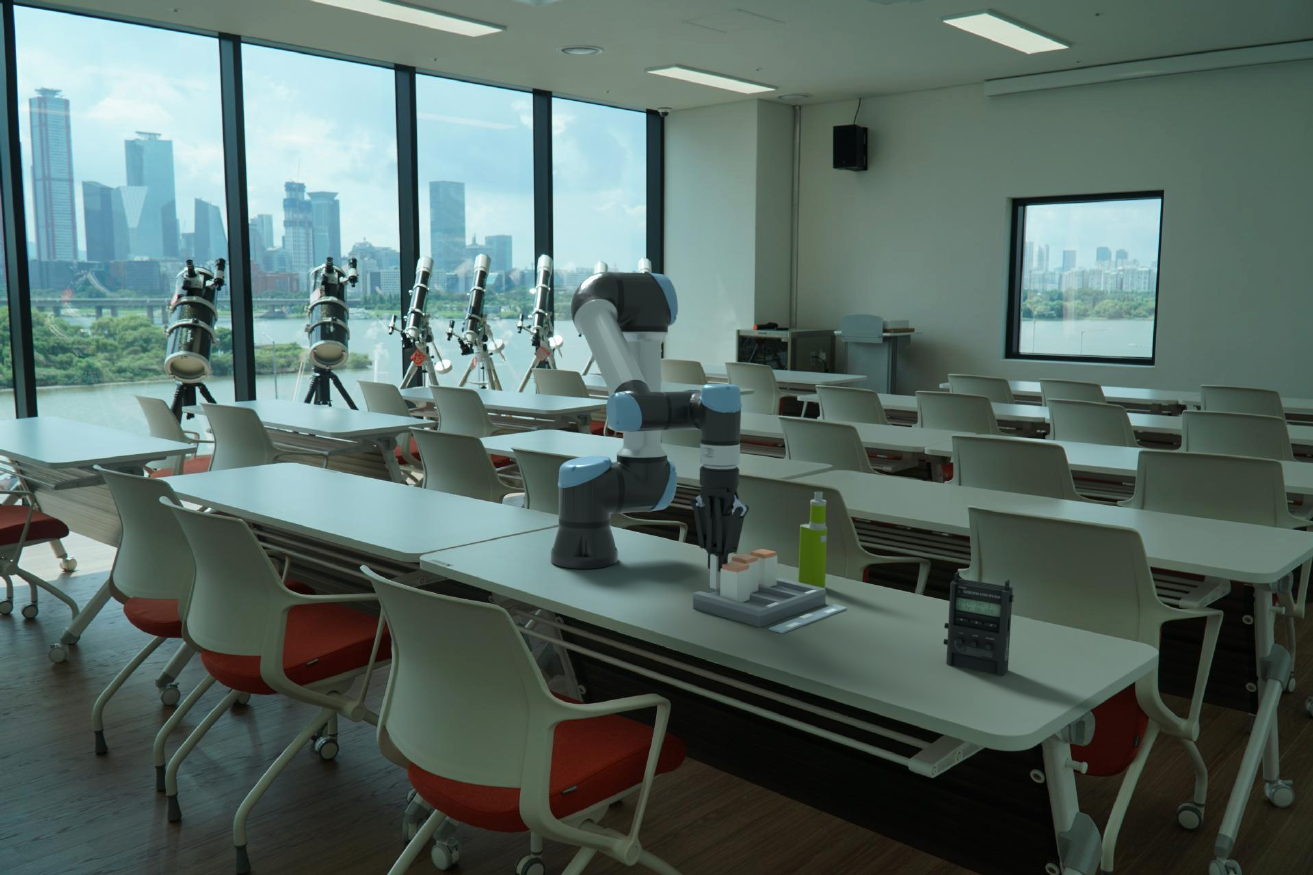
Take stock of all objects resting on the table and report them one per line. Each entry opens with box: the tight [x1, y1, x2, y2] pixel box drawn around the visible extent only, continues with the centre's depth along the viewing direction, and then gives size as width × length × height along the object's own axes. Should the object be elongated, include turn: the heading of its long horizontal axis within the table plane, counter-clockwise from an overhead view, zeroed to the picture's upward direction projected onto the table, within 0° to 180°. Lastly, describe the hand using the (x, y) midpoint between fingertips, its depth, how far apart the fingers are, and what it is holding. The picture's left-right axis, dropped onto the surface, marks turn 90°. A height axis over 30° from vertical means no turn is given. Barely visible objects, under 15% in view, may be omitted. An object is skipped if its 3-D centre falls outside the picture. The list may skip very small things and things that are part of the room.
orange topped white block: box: [720, 561, 751, 602], centre depth 189 cm, size 4×4×7 cm
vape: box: [797, 491, 828, 589], centre depth 206 cm, size 4×6×20 cm, turn 37°
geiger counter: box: [943, 571, 1015, 677], centre depth 160 cm, size 10×4×15 cm, turn 56°
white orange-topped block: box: [750, 548, 778, 587], centre depth 199 cm, size 4×4×7 cm
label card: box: [768, 603, 848, 634], centre depth 185 cm, size 3×21×1 cm, turn 137°
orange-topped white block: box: [729, 553, 759, 593], centre depth 195 cm, size 4×4×7 cm
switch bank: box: [692, 576, 827, 628], centre depth 193 cm, size 16×21×3 cm
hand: (717, 586), depth 192 cm, fingers closed
